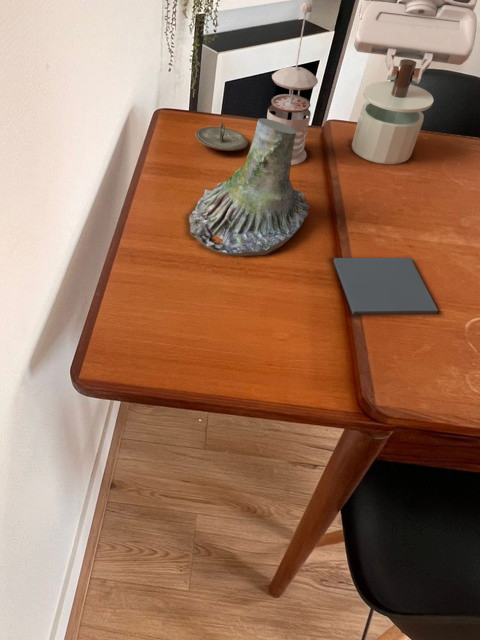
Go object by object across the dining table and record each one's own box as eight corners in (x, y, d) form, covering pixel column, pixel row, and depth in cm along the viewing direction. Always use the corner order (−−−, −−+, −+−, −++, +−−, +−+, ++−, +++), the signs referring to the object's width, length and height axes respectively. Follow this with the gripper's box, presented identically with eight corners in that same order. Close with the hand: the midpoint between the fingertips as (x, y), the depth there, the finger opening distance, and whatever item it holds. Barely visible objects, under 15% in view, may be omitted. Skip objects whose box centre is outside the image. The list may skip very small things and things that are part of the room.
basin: (399, 137, 110) (412, 99, 104) (418, 165, 102) (432, 126, 96) (345, 136, 109) (354, 98, 103) (359, 164, 101) (371, 125, 96)
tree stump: (162, 217, 88) (181, 100, 77) (248, 209, 99) (276, 106, 88) (231, 270, 77) (265, 144, 67) (319, 254, 89) (360, 145, 78)
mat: (408, 261, 82) (410, 257, 81) (436, 314, 74) (438, 310, 73) (333, 262, 81) (334, 257, 80) (352, 315, 73) (353, 311, 72)
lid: (186, 155, 104) (185, 134, 99) (209, 124, 108) (208, 102, 103) (235, 171, 101) (236, 150, 97) (256, 139, 105) (258, 117, 101)
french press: (253, 162, 100) (272, 7, 81) (263, 135, 108) (282, -13, 89) (304, 170, 99) (336, 14, 80) (310, 142, 107) (340, -6, 88)
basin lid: (418, 88, 103) (430, 49, 98) (441, 116, 95) (456, 76, 90) (355, 87, 102) (364, 48, 97) (372, 115, 94) (383, 75, 89)
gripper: (366, -18, 92) (347, 63, 93) (488, -5, 89) (467, 79, 90) (361, 5, 99) (343, 81, 100) (475, 18, 95) (455, 96, 97)
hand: (403, 80), depth 95 cm, fingers closed on basin lid, 3 cm apart
